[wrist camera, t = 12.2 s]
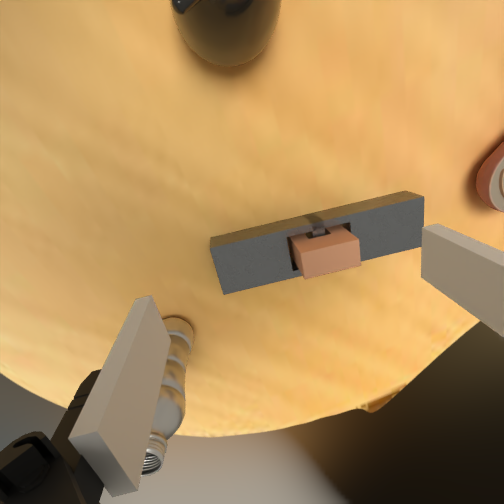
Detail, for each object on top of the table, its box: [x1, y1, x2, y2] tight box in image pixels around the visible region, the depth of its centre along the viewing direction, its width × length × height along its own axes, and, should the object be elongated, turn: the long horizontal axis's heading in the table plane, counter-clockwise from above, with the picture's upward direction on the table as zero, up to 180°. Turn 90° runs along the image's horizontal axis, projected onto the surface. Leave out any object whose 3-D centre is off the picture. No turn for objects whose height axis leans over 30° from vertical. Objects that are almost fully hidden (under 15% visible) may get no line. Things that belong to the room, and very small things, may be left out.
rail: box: [210, 191, 424, 295], centre depth 40 cm, size 28×7×4 cm, turn 102°
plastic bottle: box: [141, 317, 194, 476], centre depth 36 cm, size 6×7×20 cm
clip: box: [287, 224, 361, 279], centre depth 38 cm, size 7×4×8 cm, turn 102°
